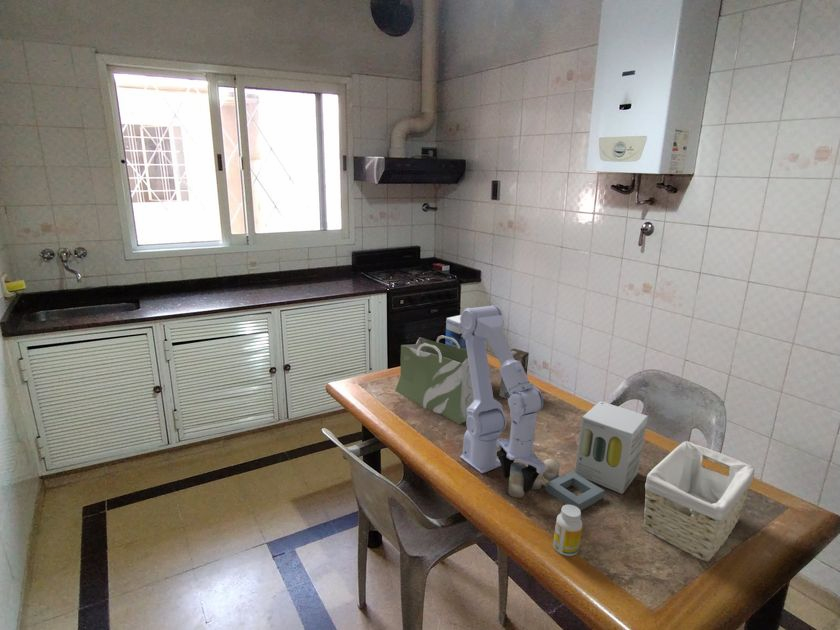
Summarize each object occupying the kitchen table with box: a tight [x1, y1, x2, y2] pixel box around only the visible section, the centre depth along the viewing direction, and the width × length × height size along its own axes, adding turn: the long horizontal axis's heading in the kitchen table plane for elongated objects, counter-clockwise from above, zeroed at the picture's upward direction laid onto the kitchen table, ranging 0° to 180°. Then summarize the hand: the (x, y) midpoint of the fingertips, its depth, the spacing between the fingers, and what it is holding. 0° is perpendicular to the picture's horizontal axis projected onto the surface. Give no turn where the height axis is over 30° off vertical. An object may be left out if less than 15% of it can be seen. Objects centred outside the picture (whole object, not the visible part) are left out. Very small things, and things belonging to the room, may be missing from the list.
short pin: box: [543, 458, 561, 482], centre depth 132 cm, size 4×4×4 cm
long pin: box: [507, 461, 528, 499], centre depth 124 cm, size 4×4×8 cm
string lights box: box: [445, 314, 467, 350], centre depth 187 cm, size 13×8×26 cm, turn 130°
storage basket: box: [643, 440, 755, 563], centre depth 114 cm, size 24×16×15 cm
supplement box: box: [574, 400, 649, 495], centre depth 132 cm, size 13×13×18 cm
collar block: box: [545, 470, 605, 511], centre depth 125 cm, size 10×10×2 cm
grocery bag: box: [394, 335, 483, 425], centre depth 170 cm, size 32×14×23 cm, turn 44°
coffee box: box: [498, 348, 529, 400], centre depth 178 cm, size 9×6×16 cm
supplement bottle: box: [552, 504, 583, 557], centre depth 106 cm, size 5×5×10 cm
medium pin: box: [531, 473, 544, 490], centre depth 128 cm, size 4×4×6 cm
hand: (517, 483), depth 124 cm, fingers open, 6 cm apart
